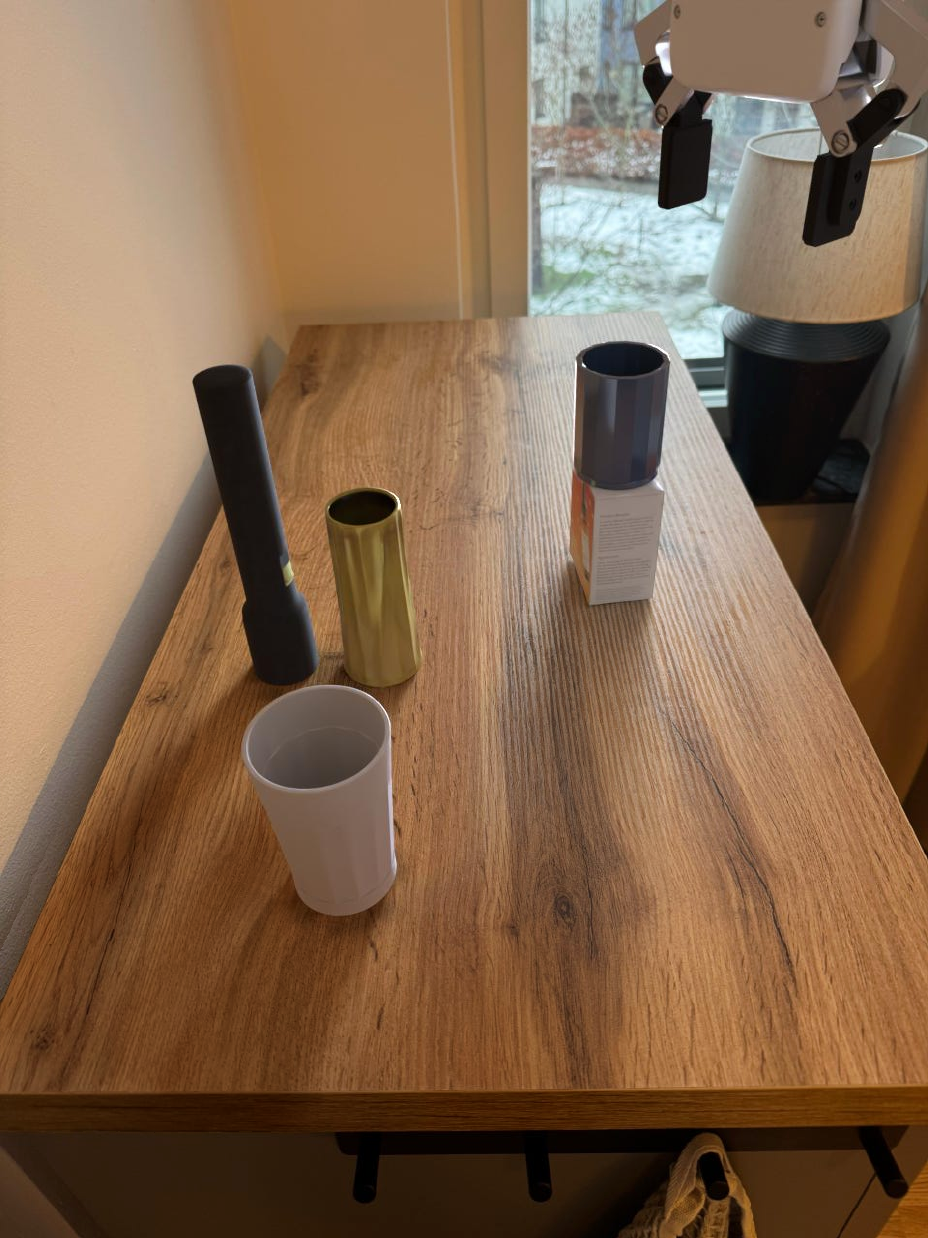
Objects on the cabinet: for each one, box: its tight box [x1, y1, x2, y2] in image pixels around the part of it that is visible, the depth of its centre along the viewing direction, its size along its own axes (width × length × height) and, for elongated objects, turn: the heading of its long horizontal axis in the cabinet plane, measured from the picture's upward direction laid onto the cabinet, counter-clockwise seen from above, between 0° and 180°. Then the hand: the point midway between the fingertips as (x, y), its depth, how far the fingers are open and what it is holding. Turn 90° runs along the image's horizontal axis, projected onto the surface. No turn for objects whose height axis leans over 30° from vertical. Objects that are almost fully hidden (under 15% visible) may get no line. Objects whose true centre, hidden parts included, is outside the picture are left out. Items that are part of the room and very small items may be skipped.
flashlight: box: [191, 363, 320, 687], centre depth 64 cm, size 5×24×5 cm
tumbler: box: [572, 340, 671, 490], centre depth 69 cm, size 7×7×9 cm
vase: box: [324, 486, 423, 688], centre depth 67 cm, size 6×6×14 cm
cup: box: [240, 684, 398, 917], centre depth 53 cm, size 8×8×12 cm
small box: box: [568, 469, 665, 606], centre depth 76 cm, size 8×6×10 cm
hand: (749, 220), depth 48 cm, fingers open, 9 cm apart
